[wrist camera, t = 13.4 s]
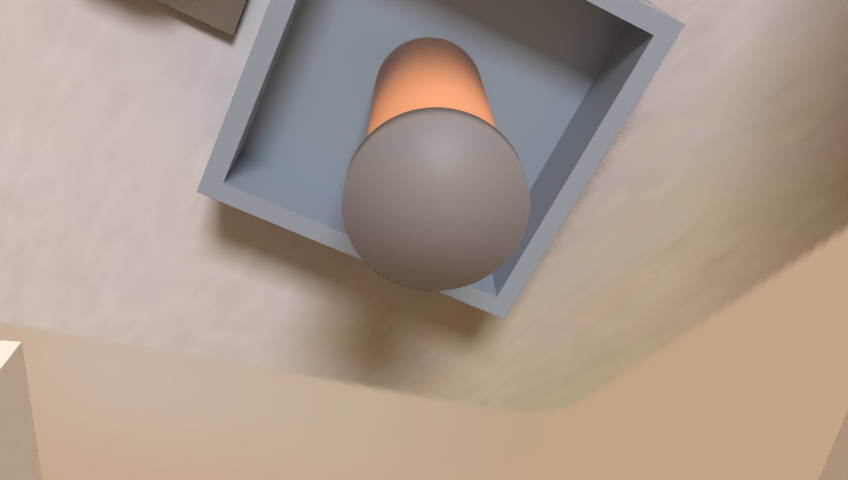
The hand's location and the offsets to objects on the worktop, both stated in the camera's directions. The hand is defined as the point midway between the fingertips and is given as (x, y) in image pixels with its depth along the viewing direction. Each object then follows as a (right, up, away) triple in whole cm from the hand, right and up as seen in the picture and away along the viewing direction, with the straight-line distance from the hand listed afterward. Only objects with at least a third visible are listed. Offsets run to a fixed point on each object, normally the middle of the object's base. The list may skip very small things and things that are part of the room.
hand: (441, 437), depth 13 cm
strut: (0, +9, +20) cm, 22 cm away
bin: (0, +10, +20) cm, 23 cm away
